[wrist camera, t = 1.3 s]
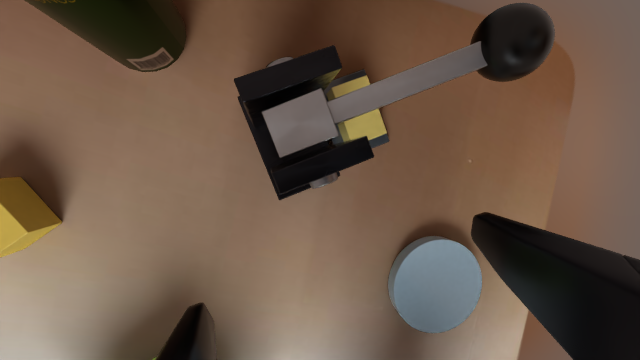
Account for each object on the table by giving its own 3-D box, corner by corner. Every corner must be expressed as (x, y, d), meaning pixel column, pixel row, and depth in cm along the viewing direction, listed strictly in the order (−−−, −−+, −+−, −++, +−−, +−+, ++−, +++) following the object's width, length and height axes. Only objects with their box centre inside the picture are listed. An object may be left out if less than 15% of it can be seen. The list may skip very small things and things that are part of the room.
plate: (488, 286, 27) (498, 292, 26) (420, 343, 26) (427, 352, 25) (442, 217, 26) (450, 219, 24) (369, 275, 25) (375, 281, 24)
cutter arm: (512, 10, 15) (563, -26, 11) (530, 73, 15) (584, 55, 12) (269, 107, 16) (254, 99, 12) (291, 163, 16) (282, 170, 13)
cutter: (301, 78, 23) (328, 6, 12) (337, 175, 24) (392, 186, 13) (238, 100, 22) (210, 43, 11) (278, 198, 23) (286, 230, 12)
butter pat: (62, 222, 21) (28, 232, 18) (24, 249, 20) (-17, 264, 17) (20, 176, 20) (-23, 179, 17) (-20, 203, 20) (-71, 210, 17)
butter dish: (362, 70, 24) (373, 60, 21) (387, 141, 24) (400, 139, 22) (311, 88, 23) (316, 80, 20) (338, 161, 24) (346, 161, 21)
